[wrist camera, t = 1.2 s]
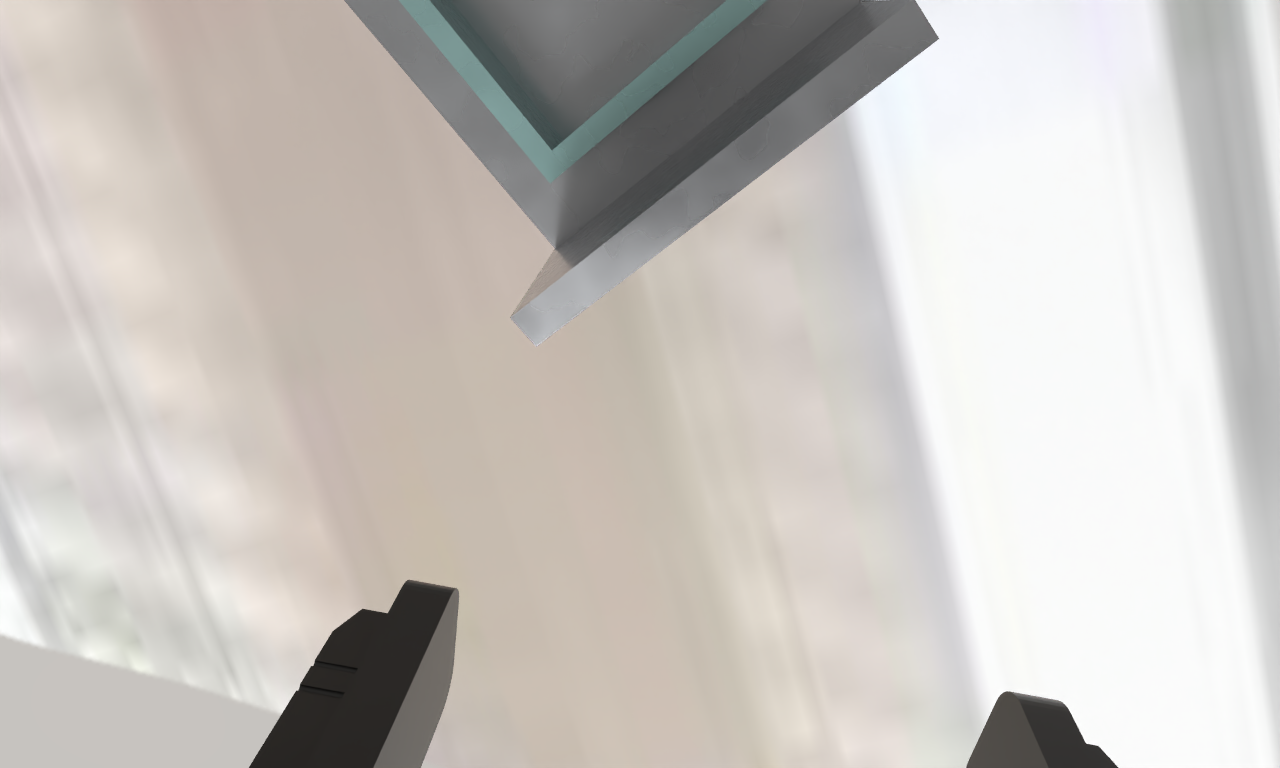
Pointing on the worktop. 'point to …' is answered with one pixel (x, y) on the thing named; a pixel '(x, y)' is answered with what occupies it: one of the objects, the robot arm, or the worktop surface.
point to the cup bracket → (635, 109)
